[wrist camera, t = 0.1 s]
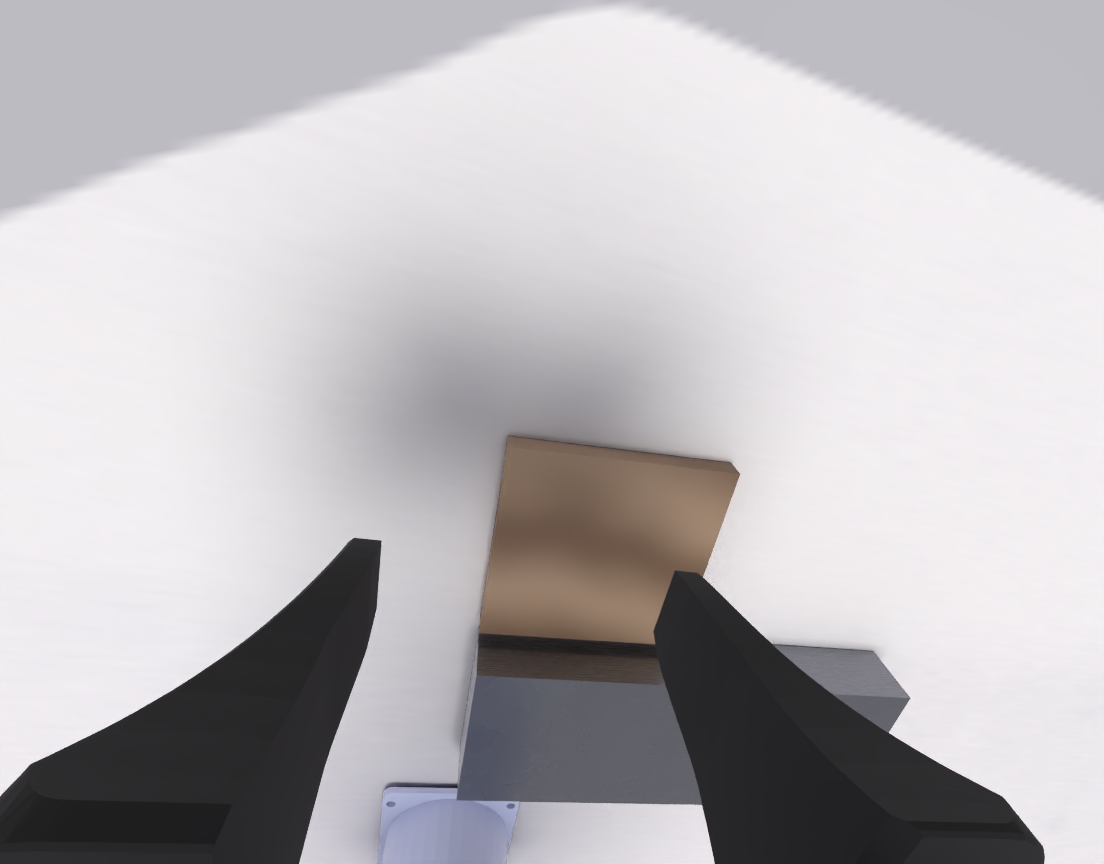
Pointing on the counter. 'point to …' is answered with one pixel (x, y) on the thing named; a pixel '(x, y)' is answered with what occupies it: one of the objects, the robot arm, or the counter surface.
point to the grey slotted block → (609, 719)
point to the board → (597, 538)
